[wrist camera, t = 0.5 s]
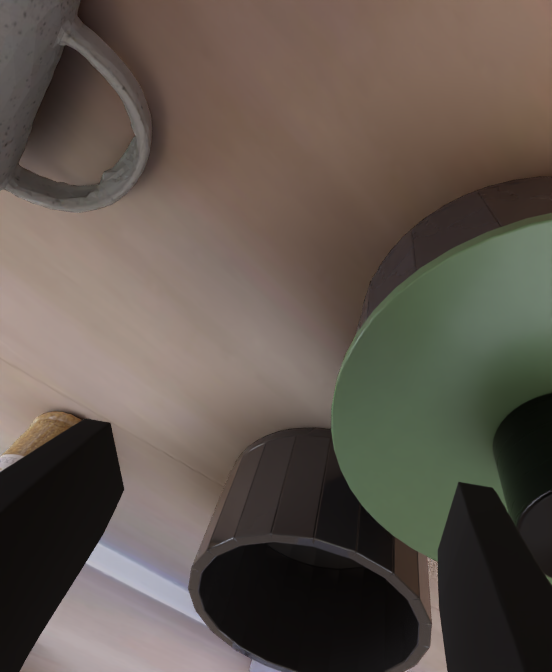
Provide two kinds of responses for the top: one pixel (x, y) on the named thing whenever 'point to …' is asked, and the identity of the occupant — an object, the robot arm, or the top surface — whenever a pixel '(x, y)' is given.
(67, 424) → the sprinkles bottle
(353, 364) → the lid
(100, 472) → the robot arm
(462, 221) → the tin
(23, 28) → the ceramic mug
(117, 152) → the top surface
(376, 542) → the cup
